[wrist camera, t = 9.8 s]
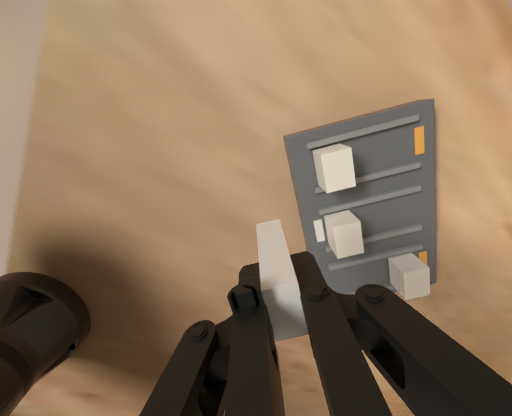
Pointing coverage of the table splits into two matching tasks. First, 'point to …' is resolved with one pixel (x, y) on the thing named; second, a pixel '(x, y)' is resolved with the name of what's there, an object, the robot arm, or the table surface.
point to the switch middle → (344, 234)
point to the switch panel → (371, 192)
